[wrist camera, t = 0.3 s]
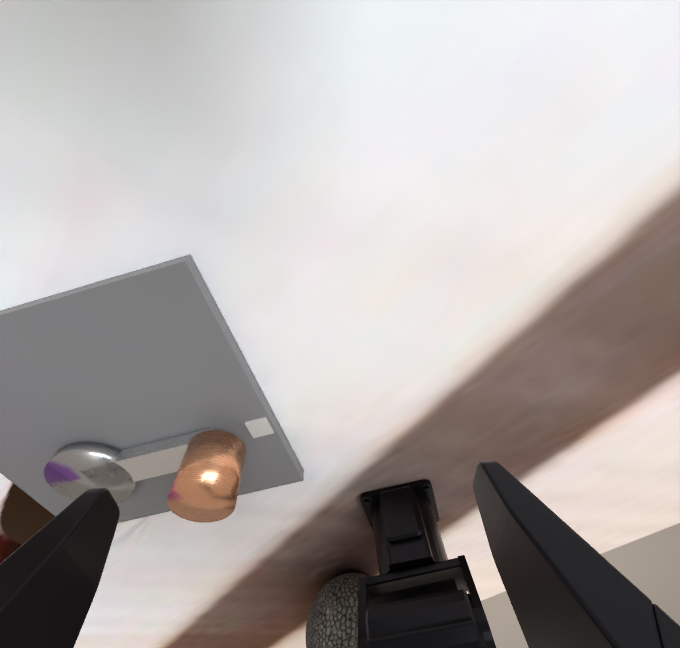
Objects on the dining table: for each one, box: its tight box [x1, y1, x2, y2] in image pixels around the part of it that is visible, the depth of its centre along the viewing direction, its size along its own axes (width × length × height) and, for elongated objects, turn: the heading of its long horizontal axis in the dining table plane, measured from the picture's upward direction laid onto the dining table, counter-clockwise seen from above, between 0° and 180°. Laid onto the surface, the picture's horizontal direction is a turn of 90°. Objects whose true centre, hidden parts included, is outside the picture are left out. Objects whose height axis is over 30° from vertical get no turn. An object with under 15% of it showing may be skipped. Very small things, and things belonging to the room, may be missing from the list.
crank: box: [44, 428, 246, 522], centre depth 24 cm, size 15×6×5 cm, turn 105°
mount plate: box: [0, 255, 304, 523], centre depth 25 cm, size 20×21×1 cm
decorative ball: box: [306, 572, 371, 648], centre depth 36 cm, size 10×10×10 cm
